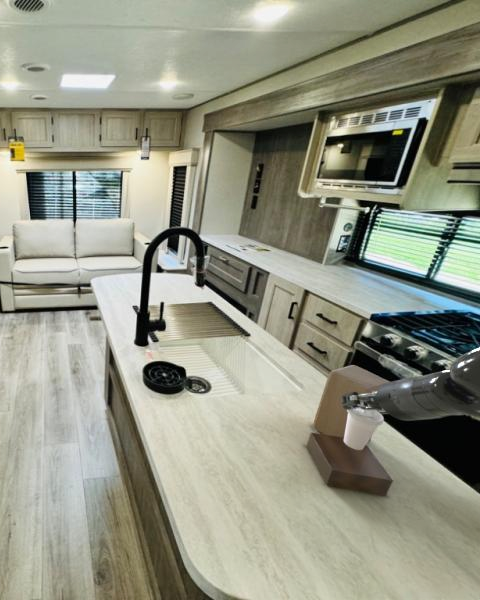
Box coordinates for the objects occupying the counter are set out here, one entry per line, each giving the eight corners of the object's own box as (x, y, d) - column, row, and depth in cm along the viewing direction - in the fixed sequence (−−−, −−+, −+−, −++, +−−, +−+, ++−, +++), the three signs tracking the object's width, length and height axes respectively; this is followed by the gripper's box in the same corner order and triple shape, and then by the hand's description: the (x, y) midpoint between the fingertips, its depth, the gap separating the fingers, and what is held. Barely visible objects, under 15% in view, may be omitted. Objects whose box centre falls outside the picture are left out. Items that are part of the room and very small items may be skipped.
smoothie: (330, 438, 78) (347, 392, 72) (346, 430, 80) (363, 385, 75) (360, 458, 72) (380, 410, 67) (376, 449, 74) (397, 401, 69)
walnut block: (357, 454, 83) (363, 440, 81) (385, 496, 72) (393, 480, 71) (306, 446, 86) (310, 432, 84) (326, 485, 75) (332, 470, 73)
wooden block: (334, 418, 96) (353, 362, 88) (371, 442, 87) (396, 383, 79) (310, 426, 93) (328, 370, 85) (346, 452, 84) (369, 391, 77)
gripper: (457, 383, 59) (394, 395, 74) (367, 373, 62) (324, 386, 77) (470, 425, 56) (401, 429, 71) (374, 413, 59) (328, 418, 74)
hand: (361, 407), depth 74 cm, fingers closed on smoothie, 6 cm apart
